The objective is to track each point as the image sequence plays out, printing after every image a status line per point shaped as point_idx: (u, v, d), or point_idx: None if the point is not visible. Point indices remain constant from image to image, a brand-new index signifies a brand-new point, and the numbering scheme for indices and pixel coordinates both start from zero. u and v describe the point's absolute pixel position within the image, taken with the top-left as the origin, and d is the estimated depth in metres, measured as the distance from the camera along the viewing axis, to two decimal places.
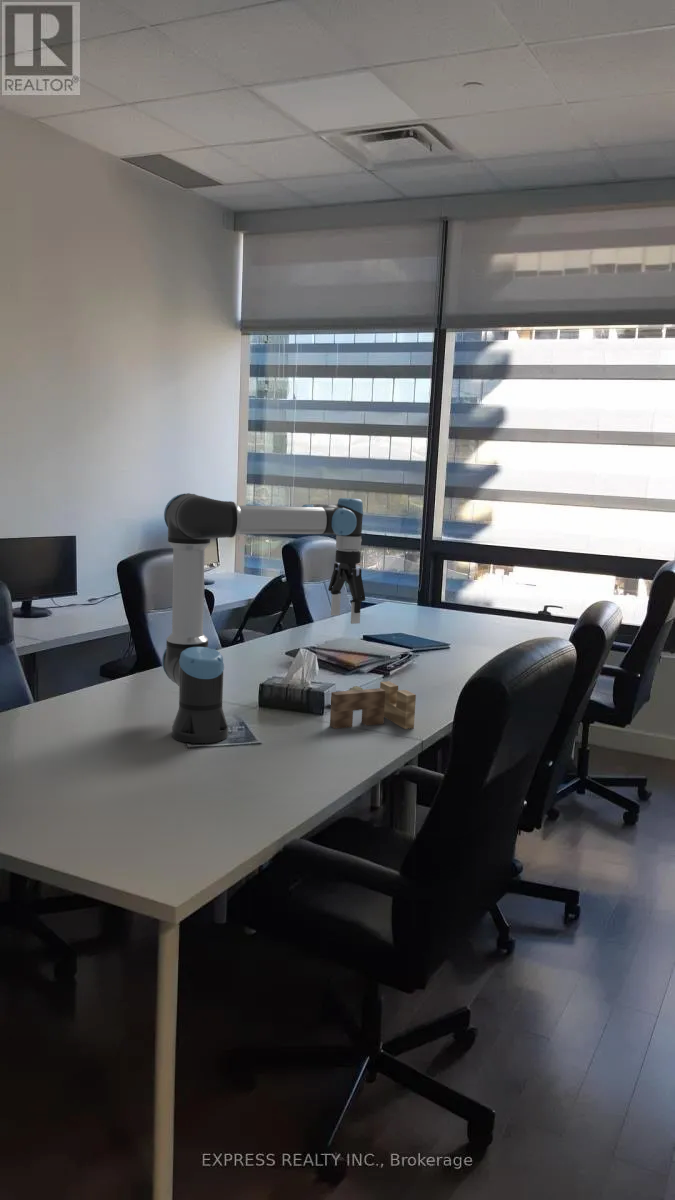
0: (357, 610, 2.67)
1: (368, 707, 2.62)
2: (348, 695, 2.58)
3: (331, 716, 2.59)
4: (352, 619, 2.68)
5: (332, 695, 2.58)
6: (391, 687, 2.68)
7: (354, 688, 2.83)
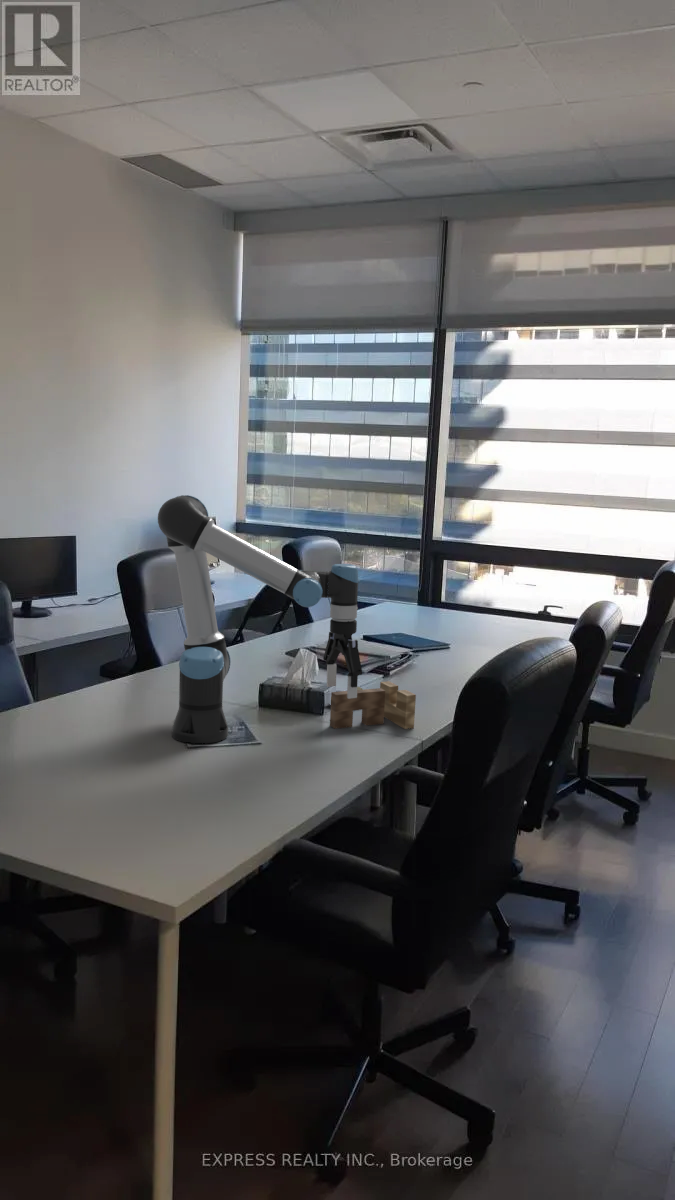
0: (354, 684, 2.50)
1: (368, 707, 2.62)
2: None
3: (331, 716, 2.59)
4: (349, 694, 2.51)
5: (332, 695, 2.58)
6: (391, 687, 2.68)
7: None
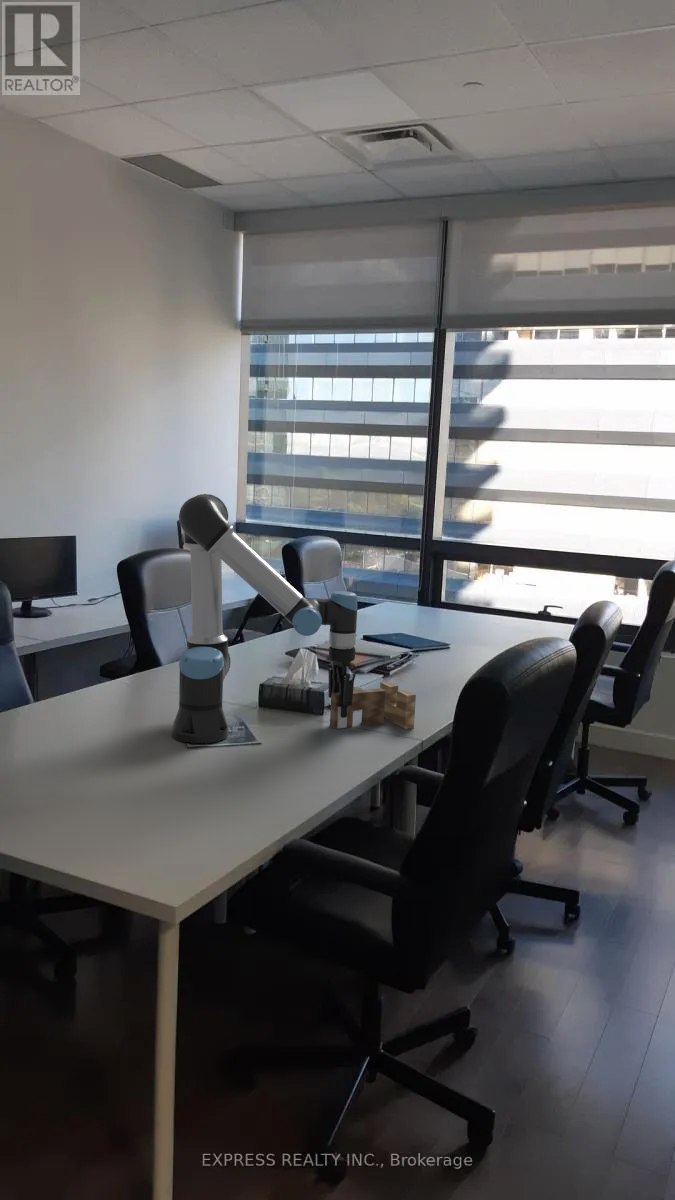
0: (344, 715, 2.56)
1: (368, 707, 2.62)
2: None
3: (331, 716, 2.59)
4: (338, 724, 2.58)
5: (332, 695, 2.58)
6: (391, 687, 2.68)
7: (354, 688, 2.82)
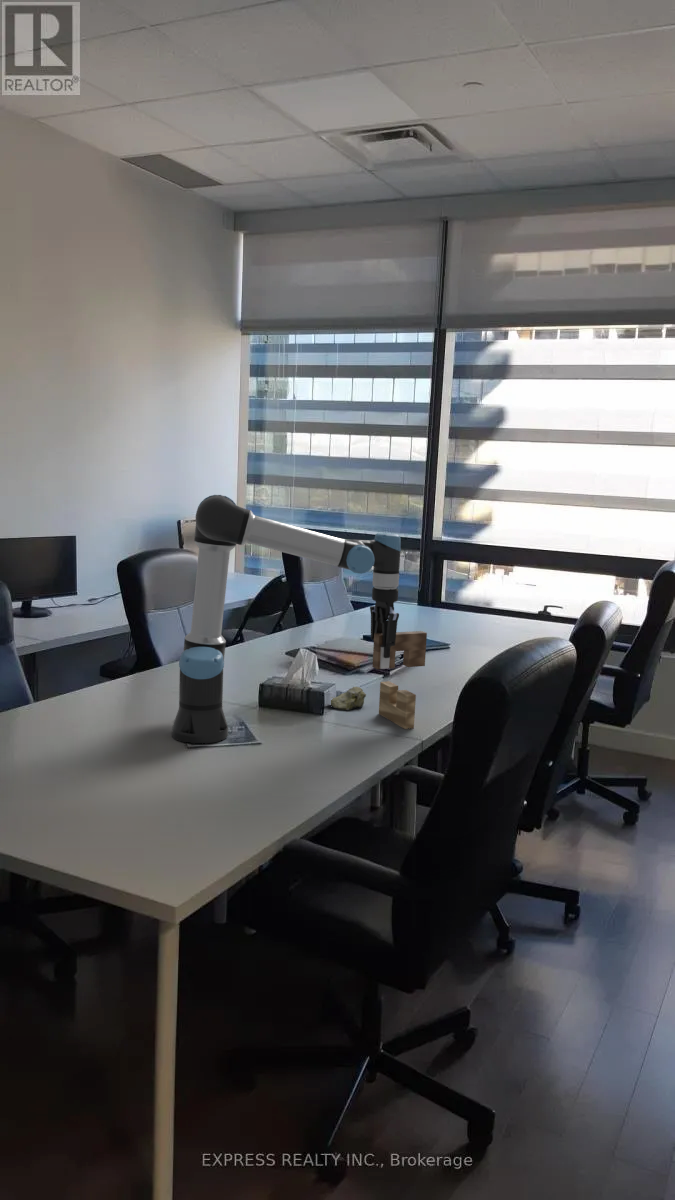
0: (387, 655, 2.59)
1: (410, 648, 2.65)
2: None
3: (374, 657, 2.62)
4: (381, 664, 2.60)
5: (375, 636, 2.61)
6: (391, 687, 2.68)
7: (354, 689, 2.82)
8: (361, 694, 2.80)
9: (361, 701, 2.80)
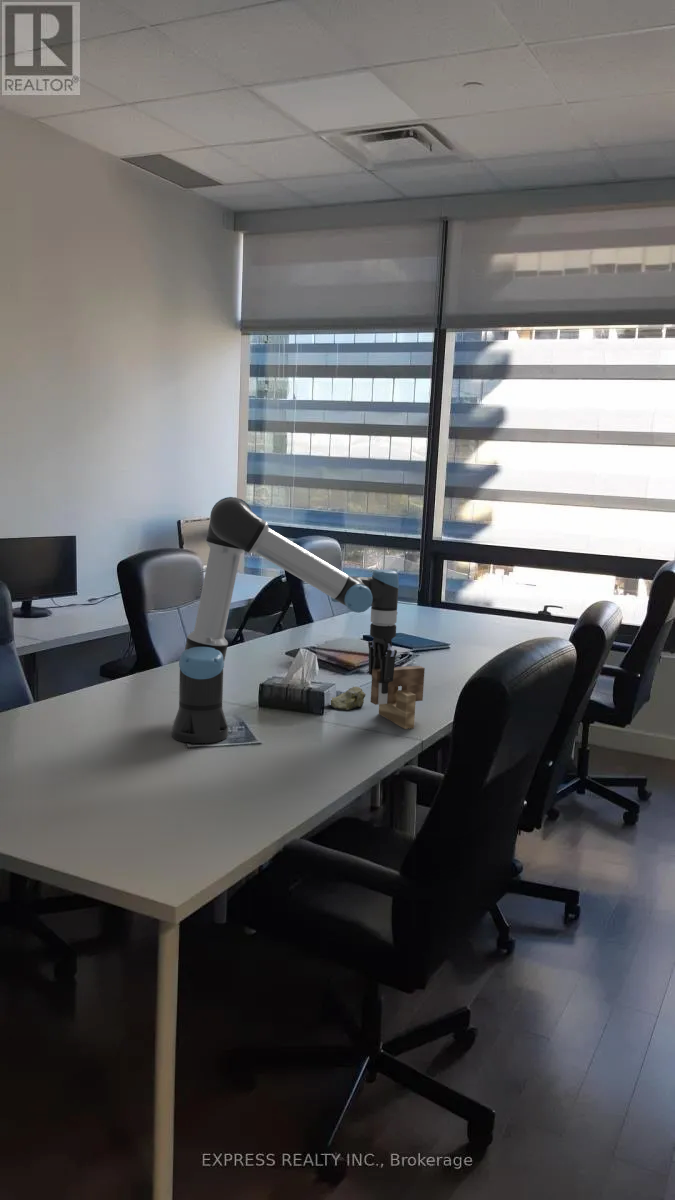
0: (384, 691, 2.61)
1: (408, 683, 2.66)
2: None
3: (372, 692, 2.64)
4: (379, 700, 2.62)
5: (373, 671, 2.63)
6: None
7: (353, 688, 2.82)
8: (361, 693, 2.80)
9: (361, 701, 2.80)
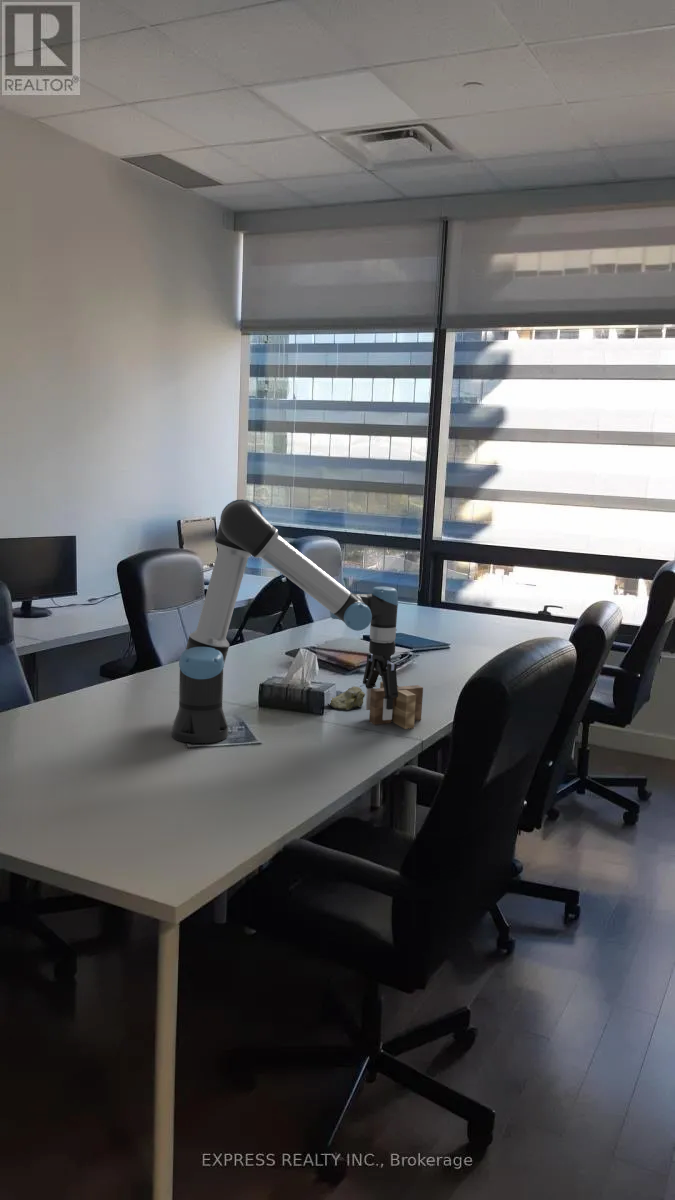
0: (389, 707, 2.59)
1: None
2: None
3: (370, 712, 2.65)
4: (384, 715, 2.60)
5: (372, 691, 2.64)
6: None
7: (353, 688, 2.82)
8: (360, 693, 2.80)
9: (360, 701, 2.80)
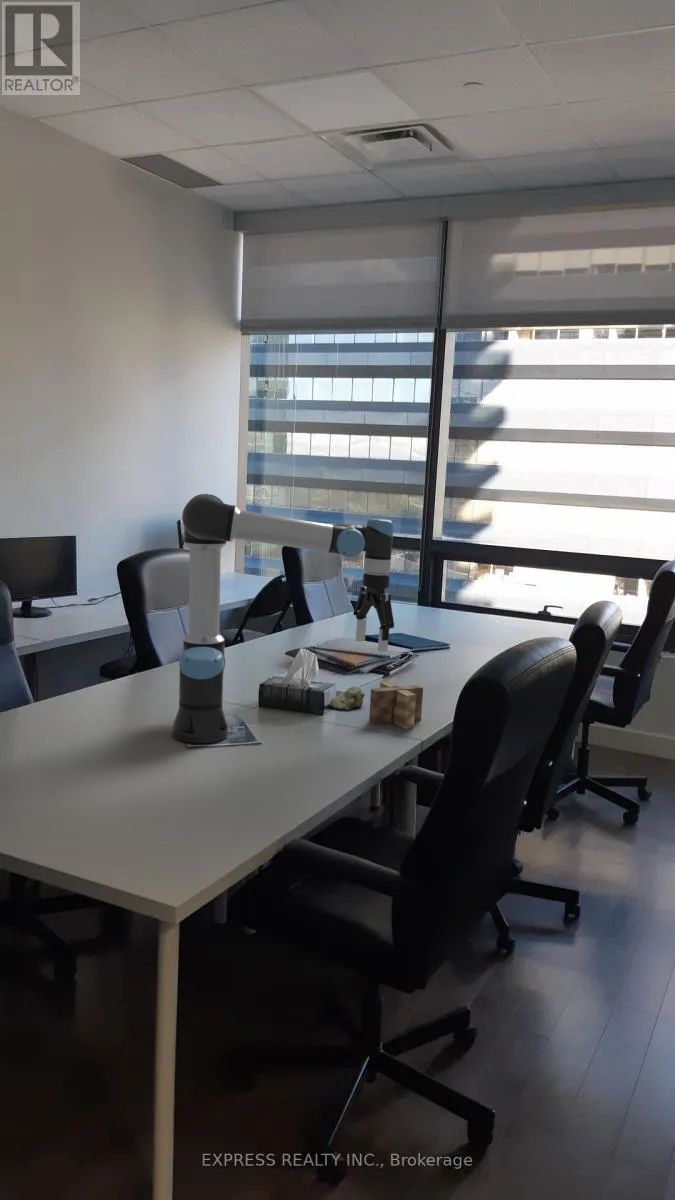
0: (385, 637, 2.53)
1: None
2: (387, 691, 2.64)
3: (370, 712, 2.65)
4: (379, 647, 2.54)
5: (372, 691, 2.64)
6: None
7: (352, 688, 2.82)
8: (360, 693, 2.80)
9: (360, 701, 2.80)
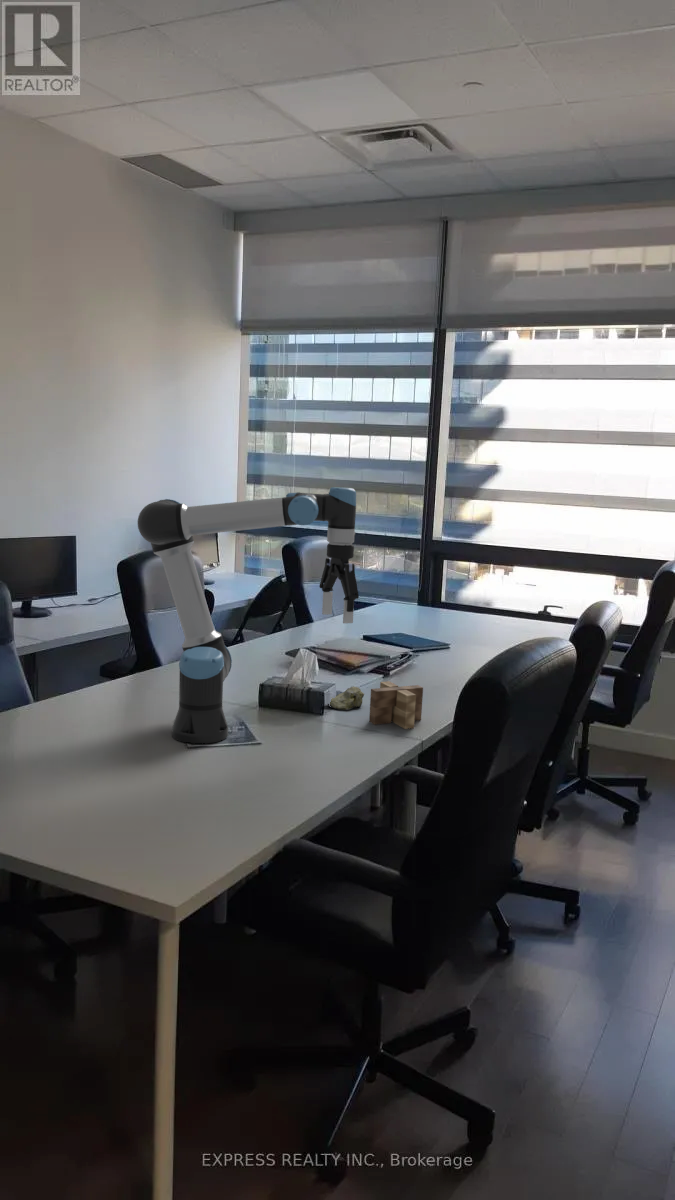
0: (350, 609, 2.46)
1: None
2: (387, 691, 2.64)
3: (370, 712, 2.65)
4: (344, 618, 2.47)
5: (372, 691, 2.64)
6: None
7: (352, 688, 2.82)
8: (359, 693, 2.80)
9: (360, 701, 2.80)
